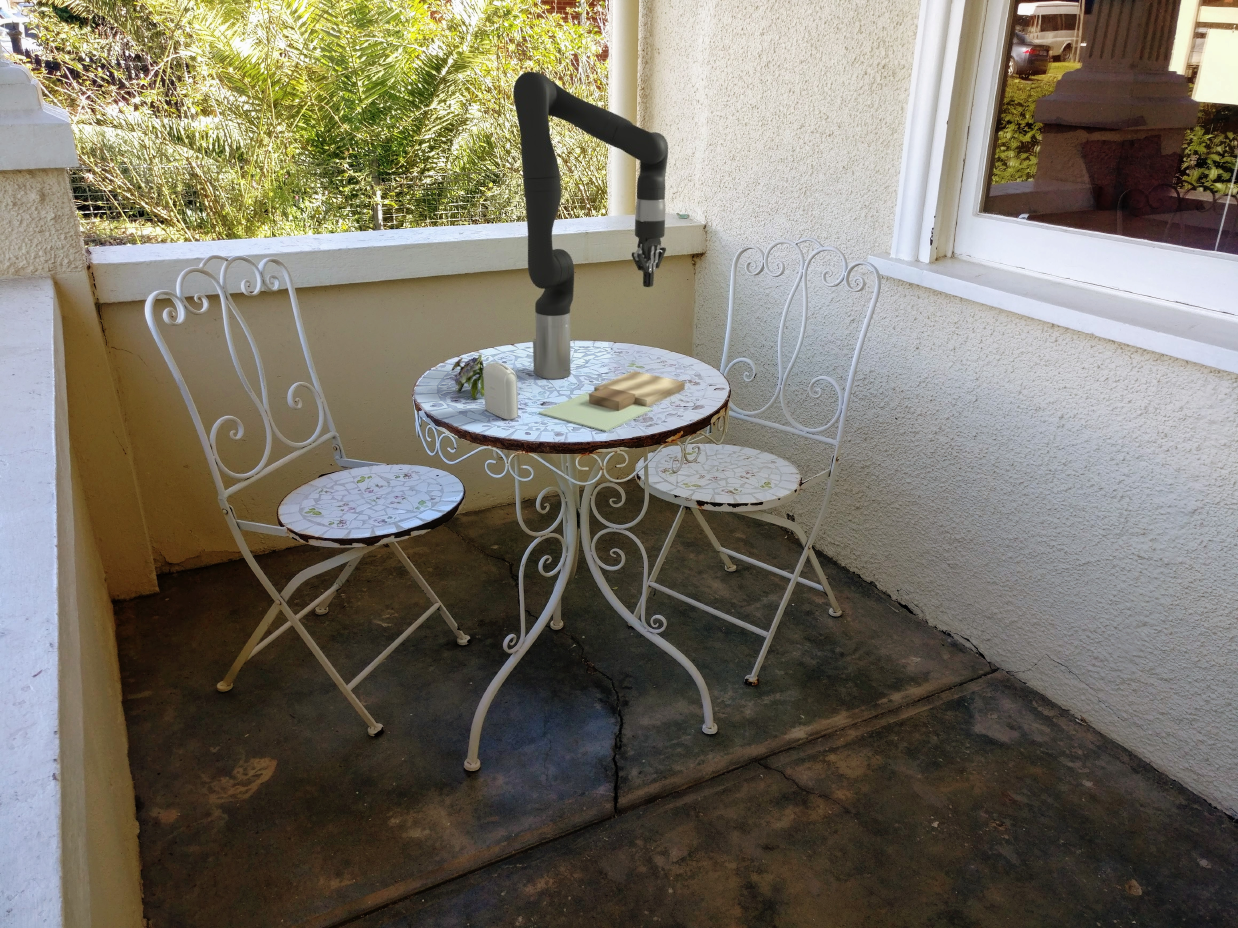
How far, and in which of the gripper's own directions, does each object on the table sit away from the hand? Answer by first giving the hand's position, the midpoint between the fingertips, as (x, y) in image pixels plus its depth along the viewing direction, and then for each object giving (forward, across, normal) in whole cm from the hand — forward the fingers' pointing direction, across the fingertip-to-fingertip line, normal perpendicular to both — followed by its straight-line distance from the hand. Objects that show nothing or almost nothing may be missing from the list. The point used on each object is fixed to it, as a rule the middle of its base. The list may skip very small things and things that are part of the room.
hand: (648, 286), depth 228 cm
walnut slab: (+25, +23, +5) cm, 34 cm away
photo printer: (+25, +44, -12) cm, 52 cm away
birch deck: (+25, +10, +5) cm, 27 cm away
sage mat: (+25, +29, +5) cm, 39 cm away
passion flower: (+25, +36, -28) cm, 52 cm away
